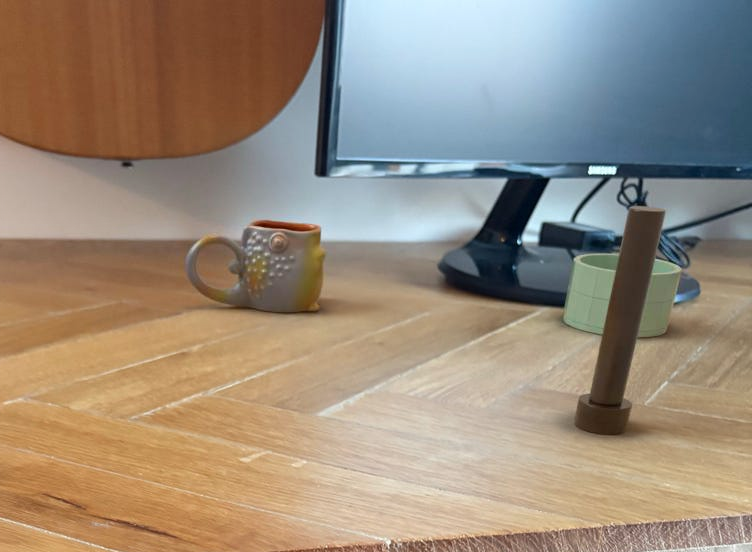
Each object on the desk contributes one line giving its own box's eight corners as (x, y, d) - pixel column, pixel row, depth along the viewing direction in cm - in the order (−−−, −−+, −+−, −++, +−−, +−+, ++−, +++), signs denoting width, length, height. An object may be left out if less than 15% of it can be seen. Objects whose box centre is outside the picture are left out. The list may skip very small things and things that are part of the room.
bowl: (633, 311, 90) (646, 253, 87) (687, 337, 83) (703, 274, 80) (545, 312, 88) (556, 253, 85) (592, 338, 81) (606, 274, 78)
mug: (308, 295, 90) (313, 216, 87) (331, 313, 84) (337, 230, 81) (177, 298, 87) (177, 216, 84) (192, 317, 82) (192, 230, 78)
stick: (610, 416, 64) (657, 204, 57) (636, 433, 61) (689, 213, 55) (564, 418, 63) (607, 204, 57) (588, 435, 60) (636, 212, 54)
